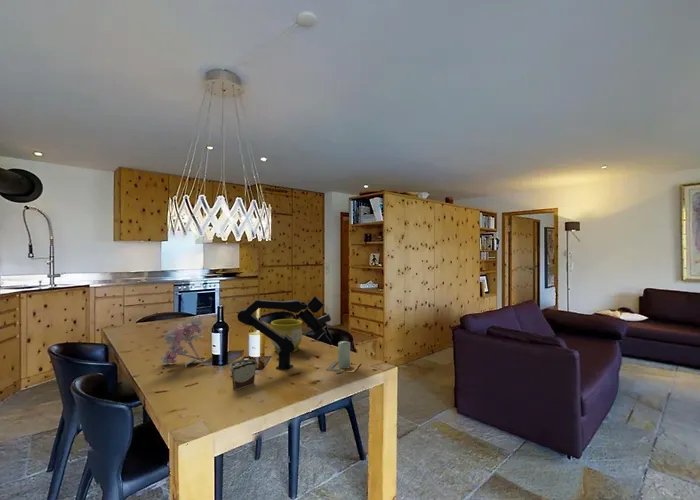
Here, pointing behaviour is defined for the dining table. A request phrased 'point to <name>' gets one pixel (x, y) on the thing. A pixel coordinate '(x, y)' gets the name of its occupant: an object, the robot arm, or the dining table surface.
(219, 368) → the dining table surface
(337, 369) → the dot frame
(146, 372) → the dining table surface
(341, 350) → the sage cup
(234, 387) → the food container
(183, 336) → the flower
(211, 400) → the dining table surface
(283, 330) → the flowerpot
